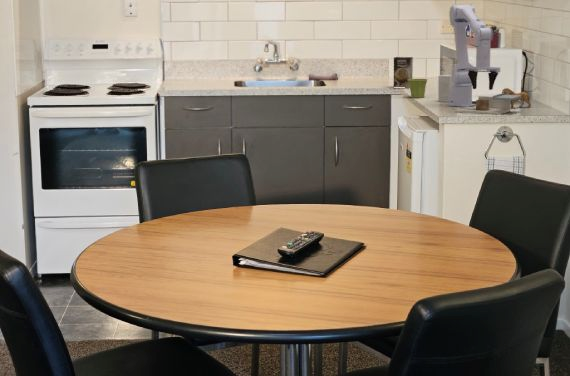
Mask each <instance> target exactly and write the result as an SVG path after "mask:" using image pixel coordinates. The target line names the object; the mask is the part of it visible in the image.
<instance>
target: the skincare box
mask: <svg viewBox="0 0 570 376" xmlns="http://www.w3.org/2000/svg"><path fill="white" fill-rule="evenodd" d="M451 76H452V74H440V75H438V79H437V80H438V82H437V83H438V85H437V87H438V92H437V94H438V98H437V99H438V102H442V103H449V92H450V88H451V86H454V84H453V83H452V80H451Z"/></svg>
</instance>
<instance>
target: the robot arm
mask: <svg viewBox="0 0 570 376" xmlns="http://www.w3.org/2000/svg"><path fill="white" fill-rule="evenodd" d="M475 8H476V7H475V6H474V5H473V3H472V4H452V5H451V6H450V8H449V23H450V25H451V26H452V27H453V32H454V41H455V44H454V45H455V51H456V52H455V53H456V64H455V65H454V66H453V67H452V69H451V75H452V76H451V80H452V83H453V84H454V86H451V88H450V92H449V102H448V103H449V104H448V106H449V107H460V108H463V107H474V106H476V103H473V90H476V89H477V87H478V86H477V84H478V83H477V80H478V74H479V73H487V75H488V90H489V91H491V90H492V91H493V90H494V86H495V81H496V80H497V77H498V76H499V73H501V67H497V66H496V67H493V66H491V42H492V41H493V39H494V31H493V28H492V26H486V24H485V23H484V21H483V20H482V19H481V18H479V17H477V15H476V9H475ZM467 26H469V28H470V30H471V31H472V33H473V37H474V45H475V46H476V50H475V51H476V54H475V55H476V57H475V58H476V61H475V62H476V63H475V65H476V66H474V65H473V64H471V63H470V62H469V52H468V42H467V32H466V31H467V30H466V28H467Z"/></svg>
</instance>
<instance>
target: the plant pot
mask: <svg viewBox="0 0 570 376" xmlns="http://www.w3.org/2000/svg"><path fill="white" fill-rule="evenodd" d="M408 81H409V84H410V96H411V98H413V99H416V98H417V99H422V98H425V93H426V87H427V83H428V78H412V79H408Z"/></svg>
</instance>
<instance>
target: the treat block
mask: <svg viewBox="0 0 570 376" xmlns="http://www.w3.org/2000/svg"><path fill="white" fill-rule="evenodd" d="M475 107H476V110H479V111H487V110H489V100H486V99H479V100H478V99H476V100H475Z"/></svg>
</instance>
